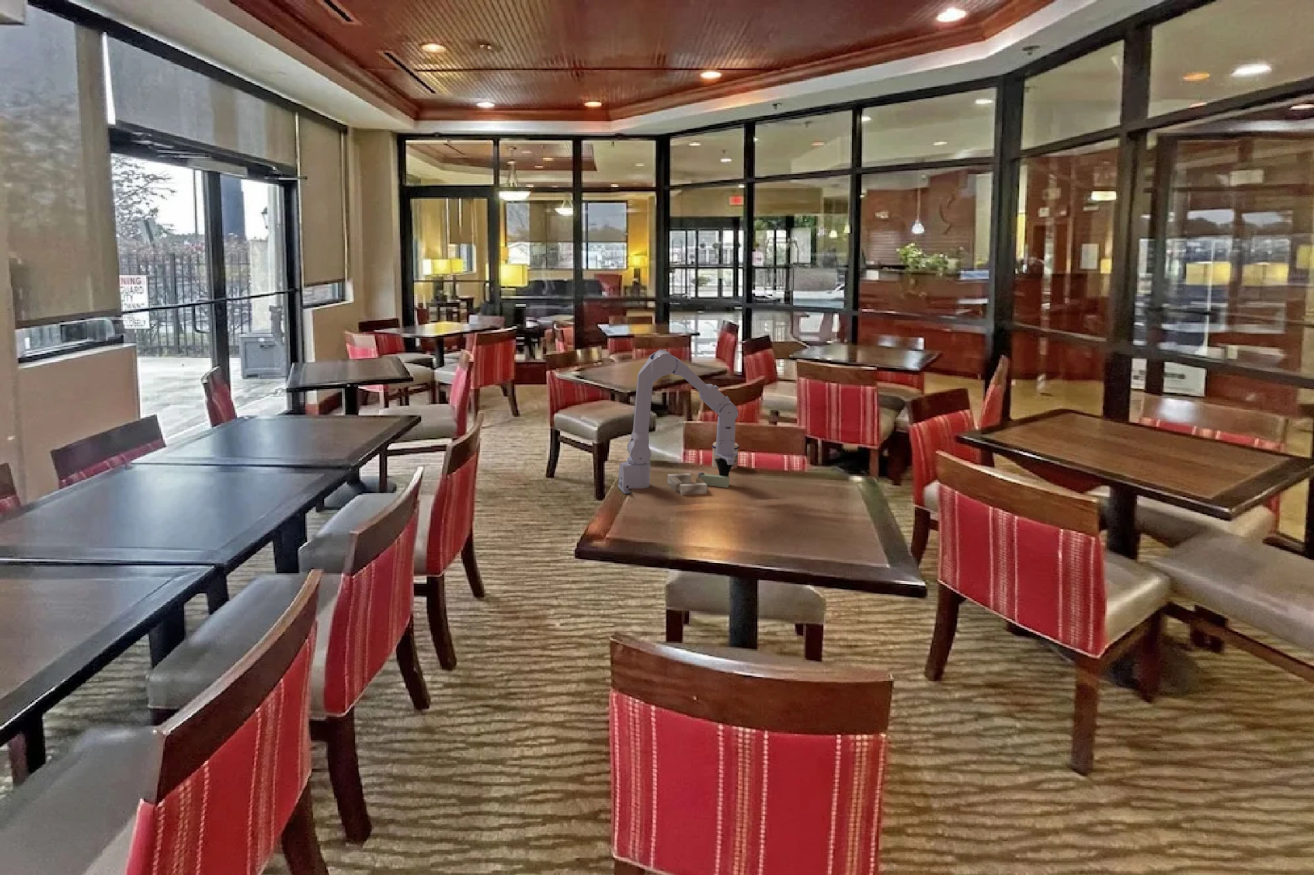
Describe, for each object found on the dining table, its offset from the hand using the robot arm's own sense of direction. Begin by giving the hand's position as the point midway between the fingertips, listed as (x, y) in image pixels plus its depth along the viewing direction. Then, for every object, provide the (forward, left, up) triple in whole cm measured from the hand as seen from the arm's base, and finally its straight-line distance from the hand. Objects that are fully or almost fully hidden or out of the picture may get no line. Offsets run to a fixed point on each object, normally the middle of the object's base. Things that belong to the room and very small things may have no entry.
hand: (723, 481), depth 284 cm
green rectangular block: (-4, 0, -1) cm, 4 cm away
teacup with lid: (+9, +22, -3) cm, 24 cm away
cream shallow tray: (-11, -2, -2) cm, 11 cm away
